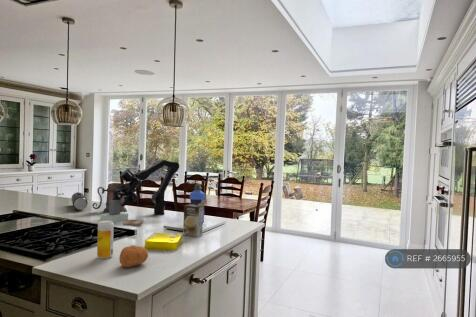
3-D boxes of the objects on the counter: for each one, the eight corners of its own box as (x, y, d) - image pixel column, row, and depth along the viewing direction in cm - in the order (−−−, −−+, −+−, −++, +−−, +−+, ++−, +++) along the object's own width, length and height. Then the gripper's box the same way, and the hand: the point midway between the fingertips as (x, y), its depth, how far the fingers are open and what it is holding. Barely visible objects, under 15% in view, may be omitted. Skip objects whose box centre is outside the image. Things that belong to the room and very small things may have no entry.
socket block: (116, 217, 212) (116, 211, 212) (128, 220, 206) (128, 213, 206) (100, 220, 202) (100, 214, 202) (112, 223, 196) (112, 216, 196)
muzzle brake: (84, 204, 256) (84, 191, 255) (87, 211, 231) (88, 196, 231) (70, 205, 251) (71, 192, 251) (72, 212, 227) (73, 197, 226)
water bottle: (186, 224, 201) (187, 183, 200) (193, 221, 209) (195, 182, 209) (199, 225, 197) (200, 184, 197) (206, 222, 206) (208, 183, 205)
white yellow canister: (100, 254, 139) (100, 219, 138) (114, 254, 139) (115, 220, 139) (94, 259, 132) (95, 223, 132) (110, 259, 133) (111, 223, 133)
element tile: (153, 241, 163) (153, 231, 163) (182, 242, 163) (183, 233, 162) (143, 250, 148) (143, 239, 148) (176, 251, 148) (176, 241, 147)
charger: (115, 218, 207) (116, 199, 207) (119, 219, 205) (120, 200, 205) (108, 219, 203) (109, 200, 203) (113, 220, 201) (113, 201, 201)
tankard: (125, 208, 245) (125, 182, 245) (129, 212, 231) (130, 184, 230) (91, 210, 234) (91, 182, 233) (93, 214, 219) (94, 185, 219)
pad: (142, 222, 202) (143, 219, 202) (140, 225, 192) (140, 223, 192) (126, 222, 200) (126, 219, 200) (123, 226, 191) (123, 223, 191)
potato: (115, 264, 128) (115, 245, 128) (143, 259, 135) (143, 241, 135) (123, 271, 121) (123, 251, 121) (151, 265, 128) (152, 246, 128)
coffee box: (182, 235, 175) (183, 205, 174) (187, 232, 181) (188, 203, 180) (197, 237, 172) (198, 206, 171) (202, 234, 178) (203, 205, 177)
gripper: (115, 177, 215) (100, 195, 205) (134, 179, 205) (119, 198, 196) (124, 188, 222) (110, 206, 212) (144, 191, 212) (129, 210, 203)
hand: (117, 205), depth 206 cm, fingers open, 9 cm apart
